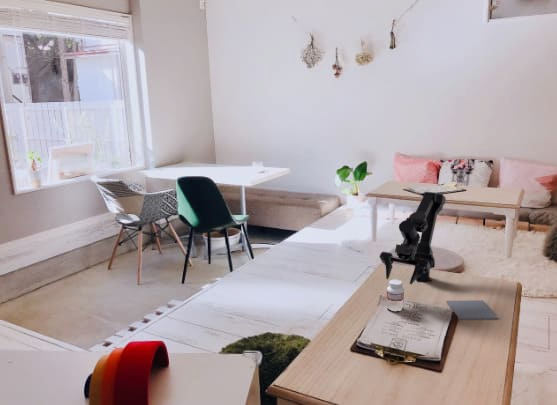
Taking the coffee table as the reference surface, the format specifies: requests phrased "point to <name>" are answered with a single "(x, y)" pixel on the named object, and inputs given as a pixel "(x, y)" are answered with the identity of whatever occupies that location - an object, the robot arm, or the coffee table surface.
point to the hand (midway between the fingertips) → (398, 281)
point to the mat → (472, 310)
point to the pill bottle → (395, 291)
